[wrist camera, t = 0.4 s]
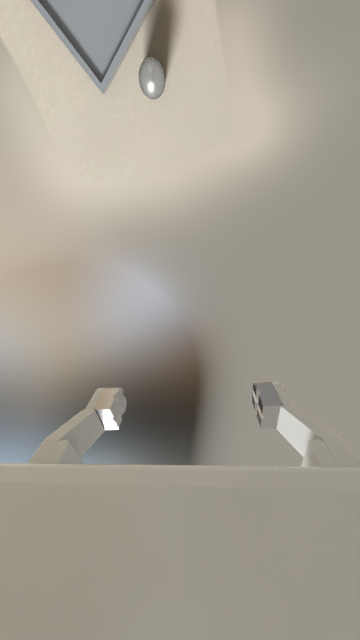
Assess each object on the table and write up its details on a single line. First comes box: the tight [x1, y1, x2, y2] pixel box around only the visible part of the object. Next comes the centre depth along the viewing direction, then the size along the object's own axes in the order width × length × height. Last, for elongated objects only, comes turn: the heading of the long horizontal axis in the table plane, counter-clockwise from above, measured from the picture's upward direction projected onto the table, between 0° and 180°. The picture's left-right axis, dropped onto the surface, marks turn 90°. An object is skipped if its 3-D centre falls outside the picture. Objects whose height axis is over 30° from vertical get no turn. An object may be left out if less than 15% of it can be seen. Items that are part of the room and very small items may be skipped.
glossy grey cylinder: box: [139, 57, 165, 99], centre depth 32 cm, size 4×4×8 cm
